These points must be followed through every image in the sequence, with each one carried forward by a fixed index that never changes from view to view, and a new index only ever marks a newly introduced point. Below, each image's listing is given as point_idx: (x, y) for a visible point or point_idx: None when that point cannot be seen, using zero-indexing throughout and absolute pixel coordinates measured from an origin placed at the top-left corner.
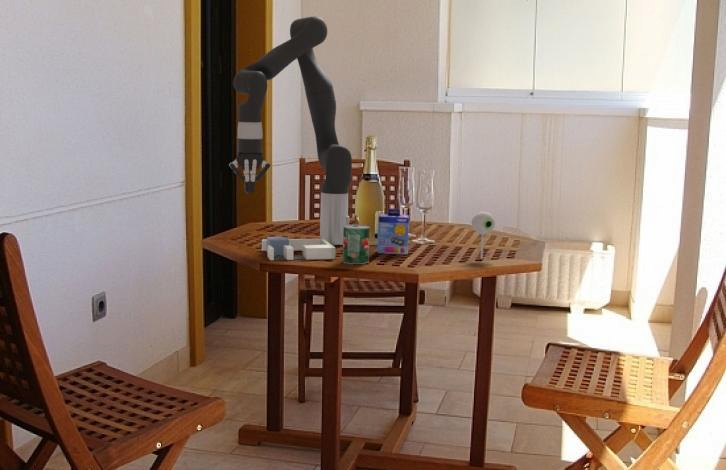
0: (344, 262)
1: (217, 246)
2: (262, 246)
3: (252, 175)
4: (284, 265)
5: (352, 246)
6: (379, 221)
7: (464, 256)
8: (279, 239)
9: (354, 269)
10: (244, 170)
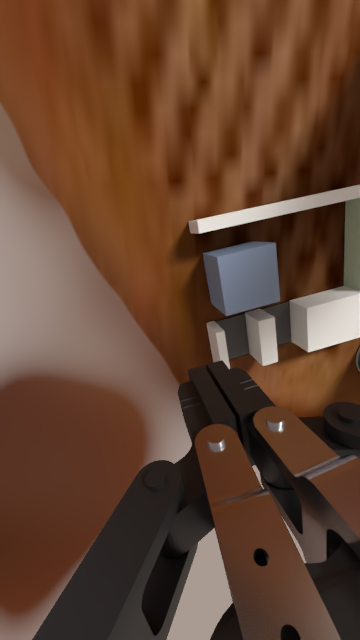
0: (357, 366)
1: (24, 144)
2: (193, 231)
3: (302, 526)
4: None
5: None
6: None
7: None
8: (254, 299)
9: None
10: (236, 561)
